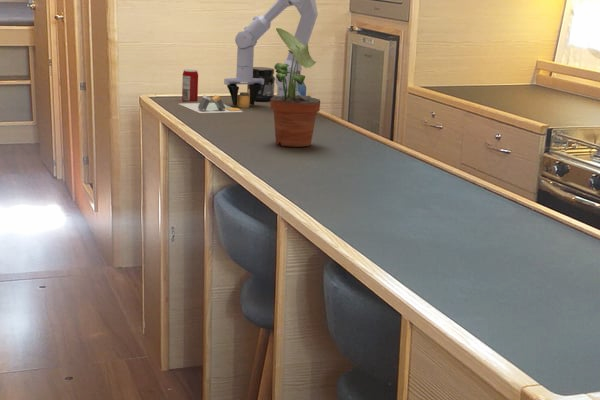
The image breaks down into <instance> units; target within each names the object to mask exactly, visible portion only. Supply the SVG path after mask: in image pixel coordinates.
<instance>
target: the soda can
mask: <svg viewBox="0 0 600 400" xmlns="http://www.w3.org/2000/svg"><path fill="white" fill-rule="evenodd" d="M181 85H182V87H181V88H182V90H181V91H182V92H181V93H182V95H181V98H182V99H181V101H182V102H184V103H191V102H192V103H193V102H194V103H198V94H199V93H198V91H199V72H198V69H183V72H182V84H181Z"/></svg>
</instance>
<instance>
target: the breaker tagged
mask: <svg viewBox="0 0 600 400" xmlns="http://www.w3.org/2000/svg"><path fill="white" fill-rule="evenodd" d="M211 100H212V101H213V103H215V104H216V106H217V108H218V110H221V111H225V106H224V104H225V103H224V102H223V101H222V99H221V97H220V96H219V95H214V96H213V97H211Z"/></svg>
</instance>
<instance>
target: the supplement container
mask: <svg viewBox="0 0 600 400" xmlns="http://www.w3.org/2000/svg"><path fill="white" fill-rule="evenodd" d="M274 74H275V68H272V67H267V66H265V67H264V66H253V78H262V79H264V84H260V85H261V89H260V90H259V92H258V94H257V96H256V99H255V102H262V103H263V102H264V103H265V102H270V100H271V97H275V84H276V80H275V79H276V76H274ZM246 83H250V82H246ZM246 85H247V87H246V93H248V95H250V88H249V84H246Z"/></svg>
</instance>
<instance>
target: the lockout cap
mask: <svg viewBox="0 0 600 400" xmlns="http://www.w3.org/2000/svg"><path fill="white" fill-rule="evenodd" d="M250 105H251V104H250V95H248V93H247V92H243V91H242V92H239V93H238V96H237V106H236V108H250Z"/></svg>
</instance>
